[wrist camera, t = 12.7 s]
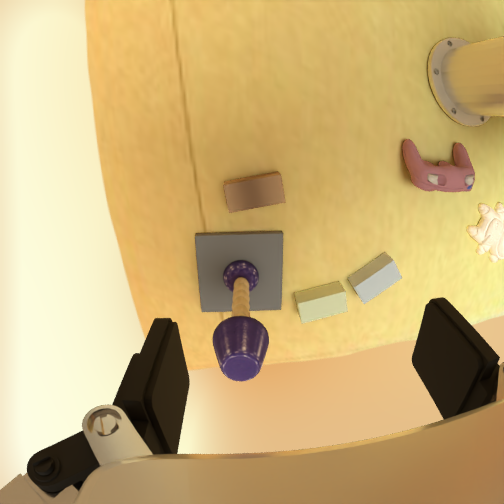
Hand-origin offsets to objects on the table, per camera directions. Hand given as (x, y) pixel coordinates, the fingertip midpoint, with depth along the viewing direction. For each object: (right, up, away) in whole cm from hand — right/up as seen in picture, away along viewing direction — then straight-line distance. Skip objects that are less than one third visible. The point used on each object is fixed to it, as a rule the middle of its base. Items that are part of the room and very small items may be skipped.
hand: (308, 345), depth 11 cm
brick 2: (+7, -2, +30) cm, 31 cm away
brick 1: (-2, +10, +25) cm, 27 cm away
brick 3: (+14, +1, +29) cm, 32 cm away
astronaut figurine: (+35, +7, +28) cm, 45 cm away
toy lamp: (-4, +1, +27) cm, 27 cm away
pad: (-3, +1, +28) cm, 28 cm away
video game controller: (+21, +15, +24) cm, 35 cm away
